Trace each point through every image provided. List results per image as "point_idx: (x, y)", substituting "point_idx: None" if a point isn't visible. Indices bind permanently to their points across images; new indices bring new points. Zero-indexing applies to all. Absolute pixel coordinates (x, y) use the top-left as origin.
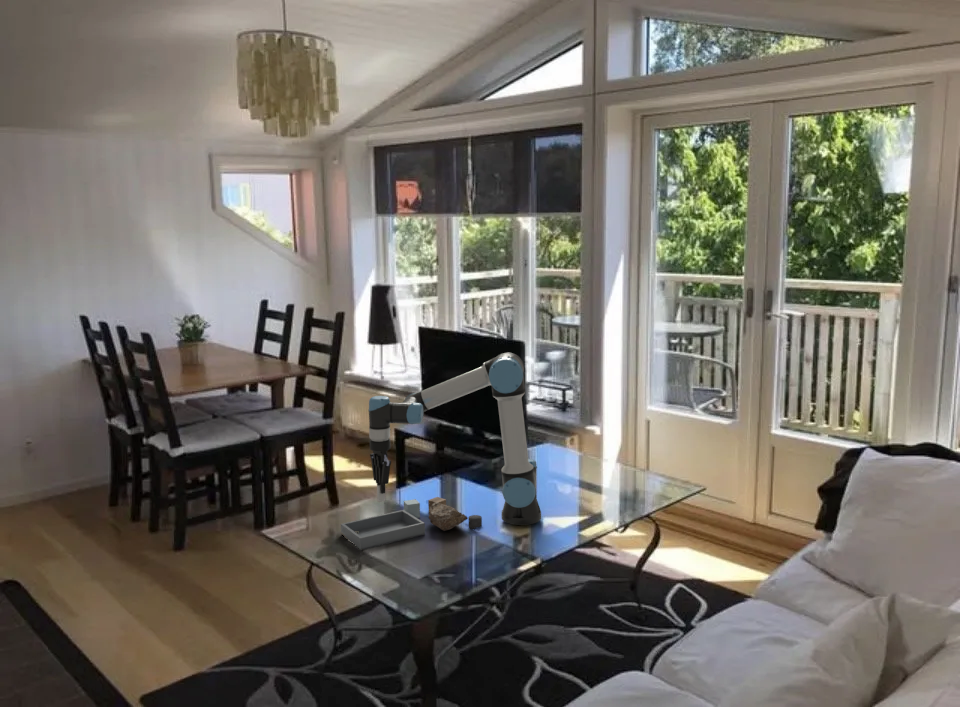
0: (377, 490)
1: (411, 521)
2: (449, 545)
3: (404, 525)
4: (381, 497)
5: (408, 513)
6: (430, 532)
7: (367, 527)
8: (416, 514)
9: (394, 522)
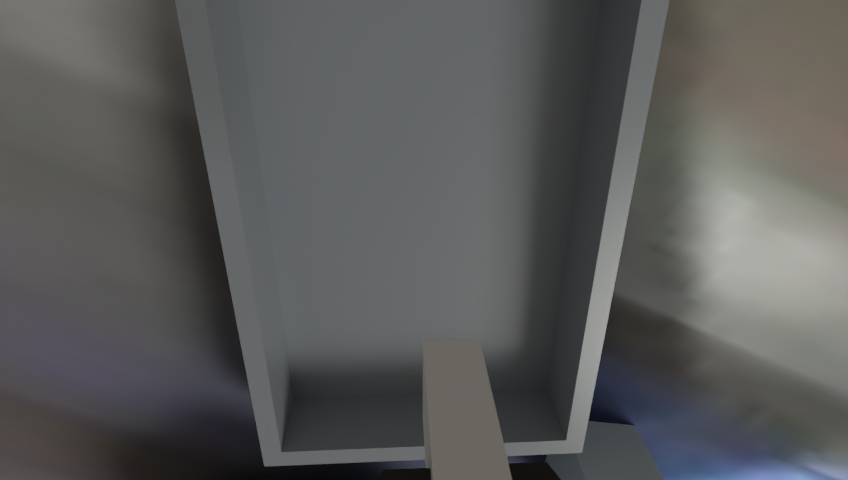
0: (488, 476)
1: None
2: (55, 440)
3: None
4: (426, 416)
5: None
6: None
7: (583, 152)
8: None
9: (553, 342)
